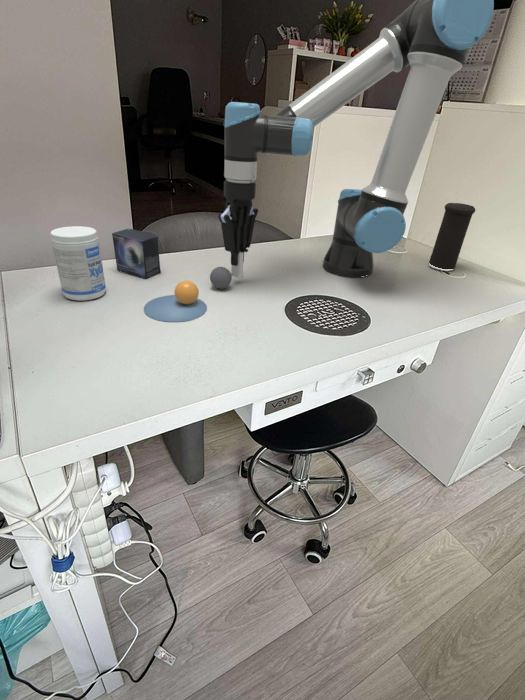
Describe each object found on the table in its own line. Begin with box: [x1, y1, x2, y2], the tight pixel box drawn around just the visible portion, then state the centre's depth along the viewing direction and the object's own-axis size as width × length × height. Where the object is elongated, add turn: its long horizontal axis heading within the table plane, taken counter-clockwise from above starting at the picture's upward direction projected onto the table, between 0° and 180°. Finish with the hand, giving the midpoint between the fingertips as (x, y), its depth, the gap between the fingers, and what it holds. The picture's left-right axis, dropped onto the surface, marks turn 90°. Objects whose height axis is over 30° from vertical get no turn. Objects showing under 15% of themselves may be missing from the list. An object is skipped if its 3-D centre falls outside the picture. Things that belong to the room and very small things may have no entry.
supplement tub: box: [50, 225, 107, 301], centre depth 88 cm, size 10×10×15 cm
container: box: [428, 202, 476, 270], centre depth 122 cm, size 9×9×20 cm
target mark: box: [143, 294, 208, 323], centre depth 89 cm, size 14×14×1 cm
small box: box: [111, 228, 162, 280], centre depth 104 cm, size 11×6×10 cm, turn 62°
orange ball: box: [174, 280, 200, 305], centre depth 90 cm, size 6×6×6 cm
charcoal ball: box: [209, 266, 233, 290], centre depth 99 cm, size 6×6×6 cm
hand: (236, 275), depth 103 cm, fingers closed
